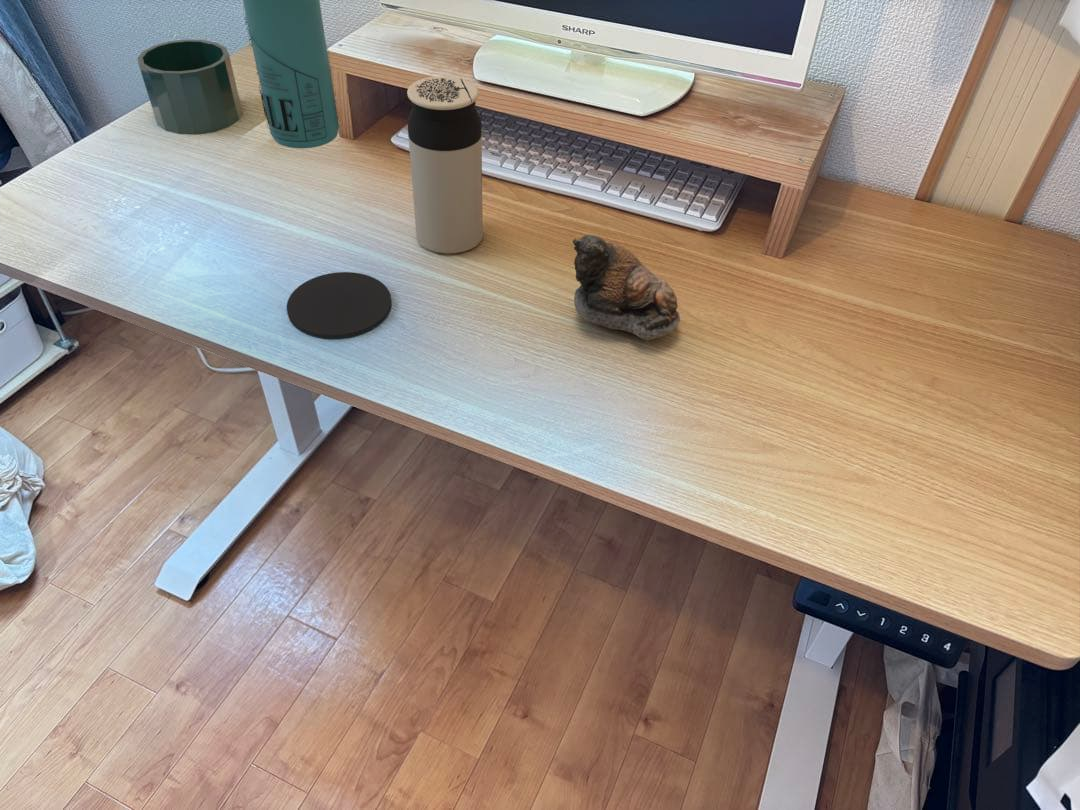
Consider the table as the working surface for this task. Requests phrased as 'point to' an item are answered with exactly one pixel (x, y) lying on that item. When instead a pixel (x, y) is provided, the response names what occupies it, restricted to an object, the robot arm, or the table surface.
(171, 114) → the pot
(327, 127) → the beverage bottle
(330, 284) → the coaster
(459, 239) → the travel mug
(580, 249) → the bison figurine
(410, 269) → the table surface
